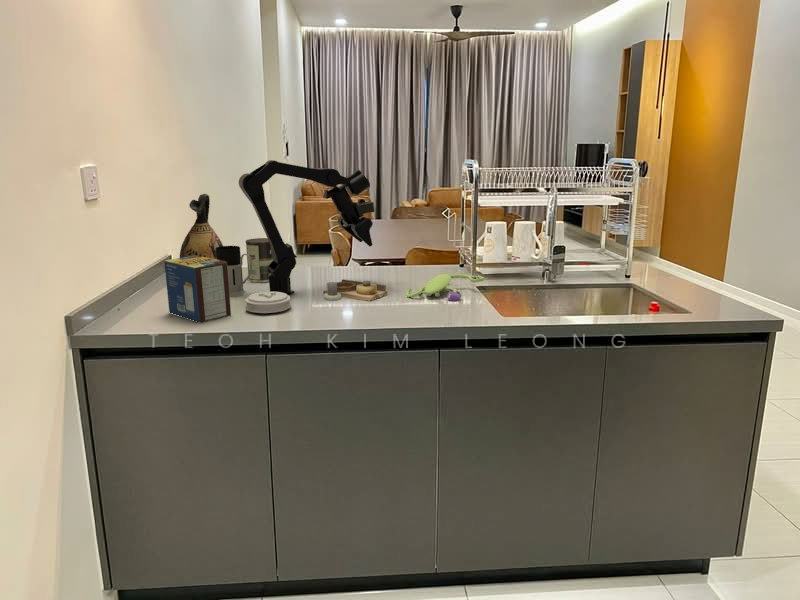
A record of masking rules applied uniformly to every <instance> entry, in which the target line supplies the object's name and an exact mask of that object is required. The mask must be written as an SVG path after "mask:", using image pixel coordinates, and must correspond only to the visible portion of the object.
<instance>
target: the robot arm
mask: <svg viewBox="0 0 800 600" xmlns="http://www.w3.org/2000/svg"><path fill="white" fill-rule="evenodd" d="M276 174H277V175H282V176H287V177H293V178H299V179H304V180H309V181H311V182H313V183H316V184H318V185H321V186H324V187H329V188H331V189H325V190H324V193H323V196H322V198H323V199H325V200H326V199H327V200H328V199H329V198H330V199H331V201H332V203H333V204H334V207H335V210H336V213H337V214H339V215H340V216H339V217H338V218H337V224H338V226H339V227H341V229H342V230H343V231H345V232H347V233H348V234H349V235H350V236H351V237H353V238H354V239H355V240H357V241H358V242H359V243H362V242H363V243H365V244H366V245H367V246H368V247H372V246H373V241H372V237H371V233H370V232H371V231H370V230H371V228H372V227H373V224H374V223H373V221H372V219H371V218H369V217H366V216H364V214H369V213H375V211H376V210H375V204H374V202H373V201H370V200H369V201H368V200H365V199H364V198H359V199H357V202H355V201H353V199H352V198H351V196H354V197H357V196H359V195H360V194H361V193H363V192H364V191H365V192H366V191H367V189H369V188H370V187H371V183H370V180H369V179H368V178H367V177H366V175H364V173H362V171H361V170H360V169H356V170H355V171H354V172H353V173H351V174H349V175H348V176H343V175H341V174H340V172H339V170H337V169H335V168H329V167H320V168H319V167H307V166H302V165H295V164H290V163H284V162H280V161H277V160H275V159H272V160H271V159H269V160H267V161H266V162H265V163H264V164H262V165H260V166H259V167H258V168H256V169H254V170H253V171H251V172H250V173H247V172H246V173H244V174H242V175H241V176H240V177H239V179H238V186H239V188H240V190H241V192H242V193H243V194H244V196H245V197H246V198H247V200H248V201H249V202H250V203H251V204H252V207H253V209H254V211H255V213H256V216H257V218H258V221H259V222H260V225H261V227H262V229H263V232H264V233H265V236H266V238H268V240H269V242H270V245H271V252H272V257H273V261H272V262H271V263H270V264H269V266H268V267H267V269H268V271H269V273H271V275H270V276H269V282H268V283H269V285H268V286H269V292H282V293H285V294H287V295H288V296H289V295H291V294H294V293H295V290H292V289H291V288H292V286H291V273H292V270H294V269H295V267H296V265H297V259H296V258H298V256H297V255H296V254H295V252H294V249H293V246H292V245H291V244H289V243H287V242H286V243H285V241H284V240H283V238H282V235H281V233H280V231H279V229H278V227H277V224H276V222H275V220H274V217H273V215H272V213H271V211H270V208H269V206H268V205H267V202H266V196H265V190H264V186H263V185H264V184H266V183H267V182H268V181H269V180H270V179H271V178H272V177H273V176H275V175H276ZM338 185H340V186H338Z"/></svg>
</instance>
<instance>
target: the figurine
mask: <svg viewBox="0 0 800 600" xmlns="http://www.w3.org/2000/svg"><path fill="white" fill-rule="evenodd" d="M457 278H458V279H459V278H460V279H468V280H469V281H470V282H471V283H481V282H484V281H485V277H484V276H481V275H478V274H477V276H476V278H473V277H472V276H471V275H469V274H465V273H464V274H462V273H461V274H459V273H458V274H455V273H454V274H448V273H447V272H443V273H441V274H438V275H435V277H433V278H432V279H430V280H429V282H427V283H426V285H424V286H423V287H420V289H418V290H417V291H416V292H413V293H411V292H412V288H410V287H409V288H408V289H407V290H406V292H405V297H406V296H407V297H406V298H408V297H411V298H410V299H413V298H415V297H417V296H419V295H420V294H422V293H423V292H424V293H425V294H426V295H428V296H427V297H431V296H432V295H434V296H435V297H436V298H439V297H440V291H444V290H445V291H448V293H447V294H446V298H447V300H448V301H450V302H457V301H459V300H460V298H461V297H462V293H461V292H460V291H458V290H457V288H454V287H450V286H449V284H450V283H451V280H452V279H457ZM410 293H411V294H410Z"/></svg>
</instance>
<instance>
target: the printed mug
mask: <svg viewBox="0 0 800 600" xmlns="http://www.w3.org/2000/svg"><path fill="white" fill-rule="evenodd" d="M245 248H246V254H248V255H250V257H251V259H252V271H251V274H250V277H249V278H248V279H247V280H248V281H249V282H251V283H252V282H253V283H269V276H270V275H271V273H269V271H268V269H267V267H268V266H269V264H270V263H271V262H272V261H273V257H272V252H271V245H270V242H269V240H268V238H267V237H259V238H258V237H257V238H249V239H246V240H245ZM246 263H247V275H248V274H249V271H250V259H249V257H248V256H247V255H246Z"/></svg>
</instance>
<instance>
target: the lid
mask: <svg viewBox="0 0 800 600" xmlns="http://www.w3.org/2000/svg"><path fill="white" fill-rule="evenodd" d="M290 300H291V297H290V295H289V294H288V295H287V294H285V293H282V292H270V291H261V292H256V293H252V294H250V295H248V296H247V297H246V298H245V302H246V307H245V308H246V311H248V312H251V313H255V314H256V313H258V314H269V313H272V314H273V313H278V312H283V311H287V310H288V309H290V308H291V304H290Z"/></svg>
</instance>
